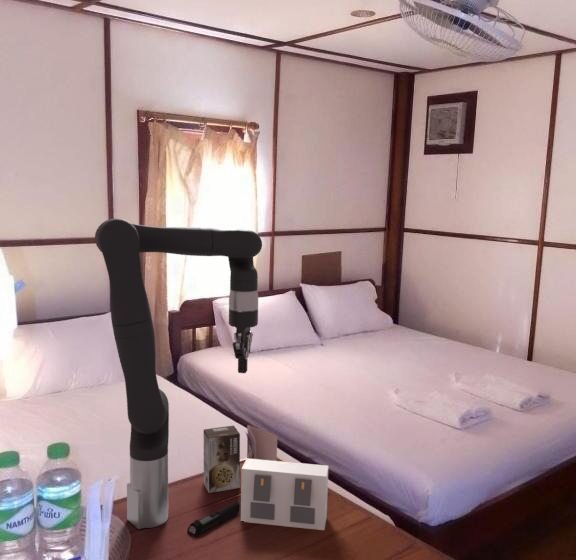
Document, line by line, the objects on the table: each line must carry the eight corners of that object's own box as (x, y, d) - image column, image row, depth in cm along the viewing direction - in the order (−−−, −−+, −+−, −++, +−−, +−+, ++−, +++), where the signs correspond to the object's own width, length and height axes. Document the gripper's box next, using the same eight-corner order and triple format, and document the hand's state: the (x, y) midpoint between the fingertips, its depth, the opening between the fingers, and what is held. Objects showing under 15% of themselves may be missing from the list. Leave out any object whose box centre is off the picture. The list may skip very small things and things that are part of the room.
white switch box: (240, 522, 152) (241, 469, 150) (245, 509, 158) (246, 458, 156) (324, 531, 149) (326, 477, 147) (326, 517, 155) (328, 465, 153)
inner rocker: (252, 500, 148) (254, 475, 148) (253, 499, 149) (255, 474, 149) (269, 502, 147) (270, 477, 148) (269, 501, 148) (271, 476, 149)
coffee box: (233, 478, 175) (234, 424, 172) (240, 488, 169) (241, 433, 167) (202, 483, 171) (203, 428, 169) (208, 493, 166) (208, 437, 163)
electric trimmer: (243, 515, 156) (243, 504, 155) (195, 539, 144) (196, 526, 144) (233, 510, 158) (233, 498, 158) (186, 533, 147) (186, 520, 146)
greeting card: (243, 474, 178) (244, 425, 175) (268, 471, 179) (269, 423, 177) (251, 492, 167) (252, 440, 164) (277, 490, 168) (279, 438, 166)
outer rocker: (293, 504, 146) (295, 478, 147) (293, 504, 147) (295, 478, 148) (309, 506, 146) (311, 480, 147) (310, 505, 147) (311, 479, 148)
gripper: (235, 302, 163) (234, 364, 166) (222, 311, 150) (222, 378, 153) (262, 303, 162) (261, 366, 164) (252, 312, 149) (251, 381, 152)
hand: (242, 372), depth 159 cm, fingers closed
